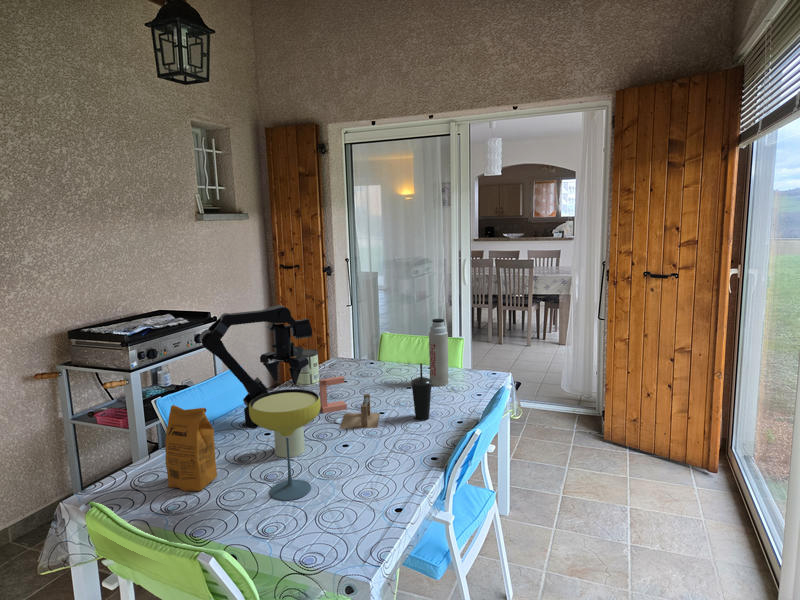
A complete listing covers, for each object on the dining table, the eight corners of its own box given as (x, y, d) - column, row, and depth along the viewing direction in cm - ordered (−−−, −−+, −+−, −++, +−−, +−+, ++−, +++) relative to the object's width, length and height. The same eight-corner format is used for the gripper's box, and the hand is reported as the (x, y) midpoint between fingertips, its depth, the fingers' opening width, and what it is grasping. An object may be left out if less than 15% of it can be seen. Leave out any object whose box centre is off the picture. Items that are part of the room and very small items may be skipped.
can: (275, 459, 159) (273, 421, 158) (274, 447, 168) (271, 411, 166) (306, 455, 162) (304, 417, 160) (303, 443, 171) (301, 407, 169)
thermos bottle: (435, 387, 223) (434, 321, 218) (426, 382, 230) (425, 318, 225) (451, 384, 226) (451, 319, 222) (442, 379, 233) (441, 316, 229)
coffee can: (299, 379, 239) (298, 349, 237) (322, 379, 238) (320, 348, 236) (293, 386, 229) (291, 354, 227) (316, 386, 228) (314, 354, 226)
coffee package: (187, 471, 153) (180, 398, 150) (223, 477, 149) (216, 402, 146) (161, 488, 144) (153, 410, 141) (198, 495, 140) (190, 415, 137)
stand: (339, 430, 180) (338, 407, 179) (344, 414, 194) (343, 393, 193) (377, 429, 180) (376, 406, 179) (380, 414, 194) (379, 393, 193)
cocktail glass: (242, 491, 141) (235, 401, 137) (300, 467, 154) (294, 384, 150) (279, 517, 128) (272, 418, 125) (338, 489, 141) (334, 398, 137)
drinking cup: (431, 422, 185) (430, 366, 182) (409, 421, 186) (408, 366, 183) (434, 414, 192) (433, 360, 189) (413, 413, 194) (412, 360, 190)
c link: (323, 413, 195) (321, 382, 193) (319, 409, 199) (318, 378, 198) (346, 409, 198) (345, 378, 197) (342, 405, 203) (341, 375, 201)
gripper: (317, 338, 191) (319, 380, 193) (279, 333, 201) (282, 373, 203) (296, 345, 182) (299, 389, 184) (257, 340, 191) (260, 381, 194)
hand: (285, 382), depth 192 cm, fingers open, 9 cm apart
